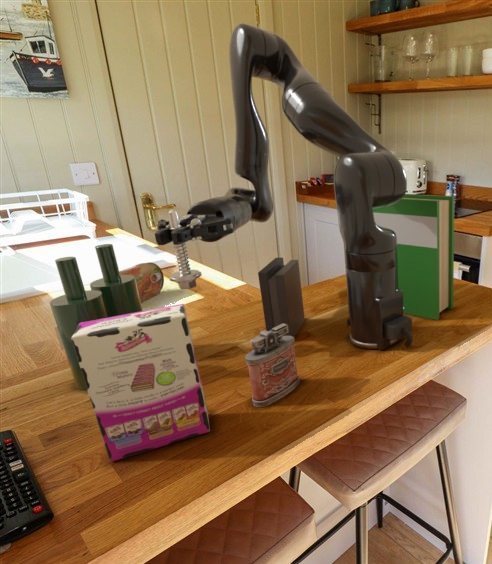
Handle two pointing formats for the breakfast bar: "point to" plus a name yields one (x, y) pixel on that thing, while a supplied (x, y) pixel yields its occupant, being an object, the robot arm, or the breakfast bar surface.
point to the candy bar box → (142, 379)
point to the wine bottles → (91, 301)
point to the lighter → (272, 366)
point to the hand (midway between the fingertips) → (166, 238)
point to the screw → (182, 260)
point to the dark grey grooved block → (282, 295)
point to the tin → (146, 279)
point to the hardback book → (423, 251)
